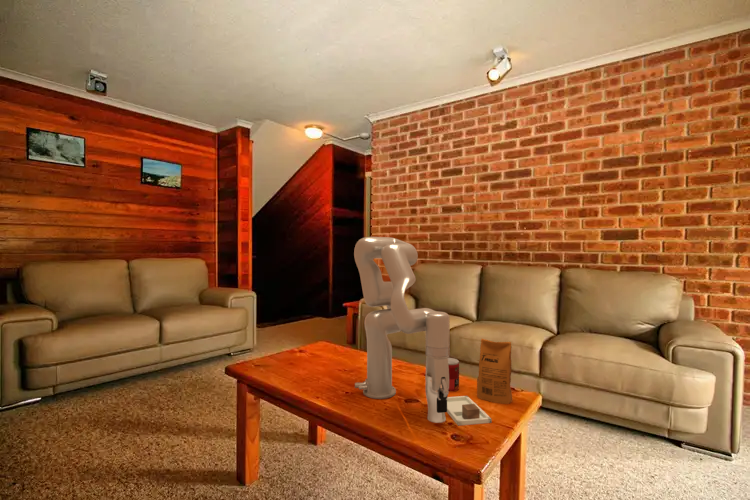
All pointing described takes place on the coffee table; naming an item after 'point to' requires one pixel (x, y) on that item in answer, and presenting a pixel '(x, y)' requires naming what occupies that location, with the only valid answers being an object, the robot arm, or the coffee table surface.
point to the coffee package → (495, 372)
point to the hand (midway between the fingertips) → (437, 406)
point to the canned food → (453, 374)
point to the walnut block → (470, 411)
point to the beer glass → (433, 402)
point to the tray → (456, 411)
